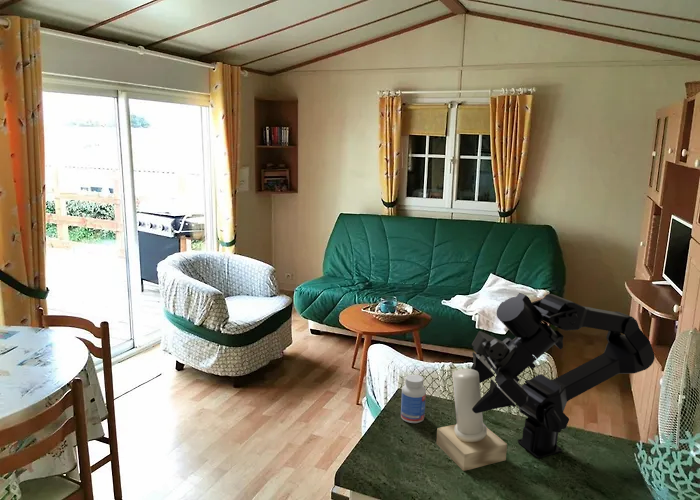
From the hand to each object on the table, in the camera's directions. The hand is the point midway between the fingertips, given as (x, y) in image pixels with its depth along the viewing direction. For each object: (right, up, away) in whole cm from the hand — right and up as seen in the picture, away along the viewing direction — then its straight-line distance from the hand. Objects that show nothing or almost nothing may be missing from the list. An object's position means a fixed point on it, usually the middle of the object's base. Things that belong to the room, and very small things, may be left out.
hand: (467, 399), depth 108 cm
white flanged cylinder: (+1, -7, +2) cm, 8 cm away
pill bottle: (-9, -9, +15) cm, 20 cm away
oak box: (+1, -12, +3) cm, 12 cm away
